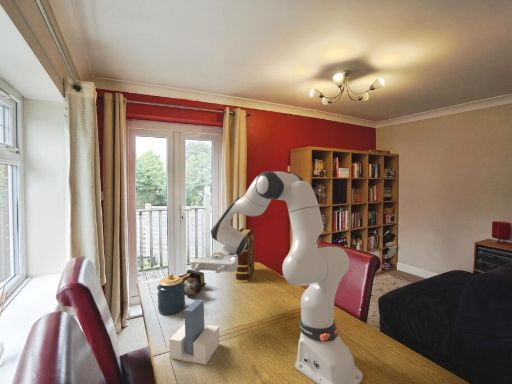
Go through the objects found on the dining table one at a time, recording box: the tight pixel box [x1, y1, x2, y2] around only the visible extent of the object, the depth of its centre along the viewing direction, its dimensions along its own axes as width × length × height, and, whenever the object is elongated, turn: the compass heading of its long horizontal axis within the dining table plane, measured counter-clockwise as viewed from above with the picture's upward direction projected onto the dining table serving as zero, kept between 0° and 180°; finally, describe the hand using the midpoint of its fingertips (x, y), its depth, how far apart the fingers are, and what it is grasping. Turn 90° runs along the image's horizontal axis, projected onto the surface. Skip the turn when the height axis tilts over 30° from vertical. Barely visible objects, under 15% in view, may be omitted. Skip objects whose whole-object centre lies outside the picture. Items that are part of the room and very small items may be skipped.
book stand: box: [169, 323, 221, 366], centre depth 100 cm, size 14×12×7 cm
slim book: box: [183, 299, 206, 355], centre depth 100 cm, size 3×9×16 cm, turn 164°
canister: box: [156, 273, 186, 316], centre depth 133 cm, size 13×13×18 cm
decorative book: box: [234, 227, 255, 284], centre depth 175 cm, size 22×8×30 cm, turn 168°
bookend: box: [177, 269, 207, 297], centre depth 152 cm, size 15×11×25 cm
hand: (206, 270), depth 109 cm, fingers open, 8 cm apart
